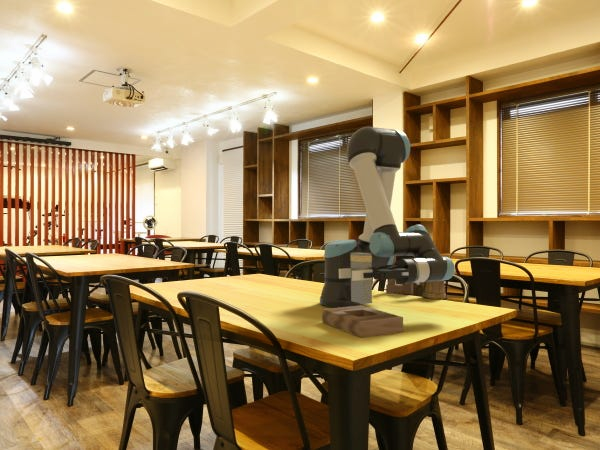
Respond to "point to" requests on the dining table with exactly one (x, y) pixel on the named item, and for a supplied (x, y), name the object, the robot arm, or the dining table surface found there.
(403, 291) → the wooden block
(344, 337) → the dining table surface
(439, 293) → the wooden mug
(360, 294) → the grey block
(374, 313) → the walnut post block
